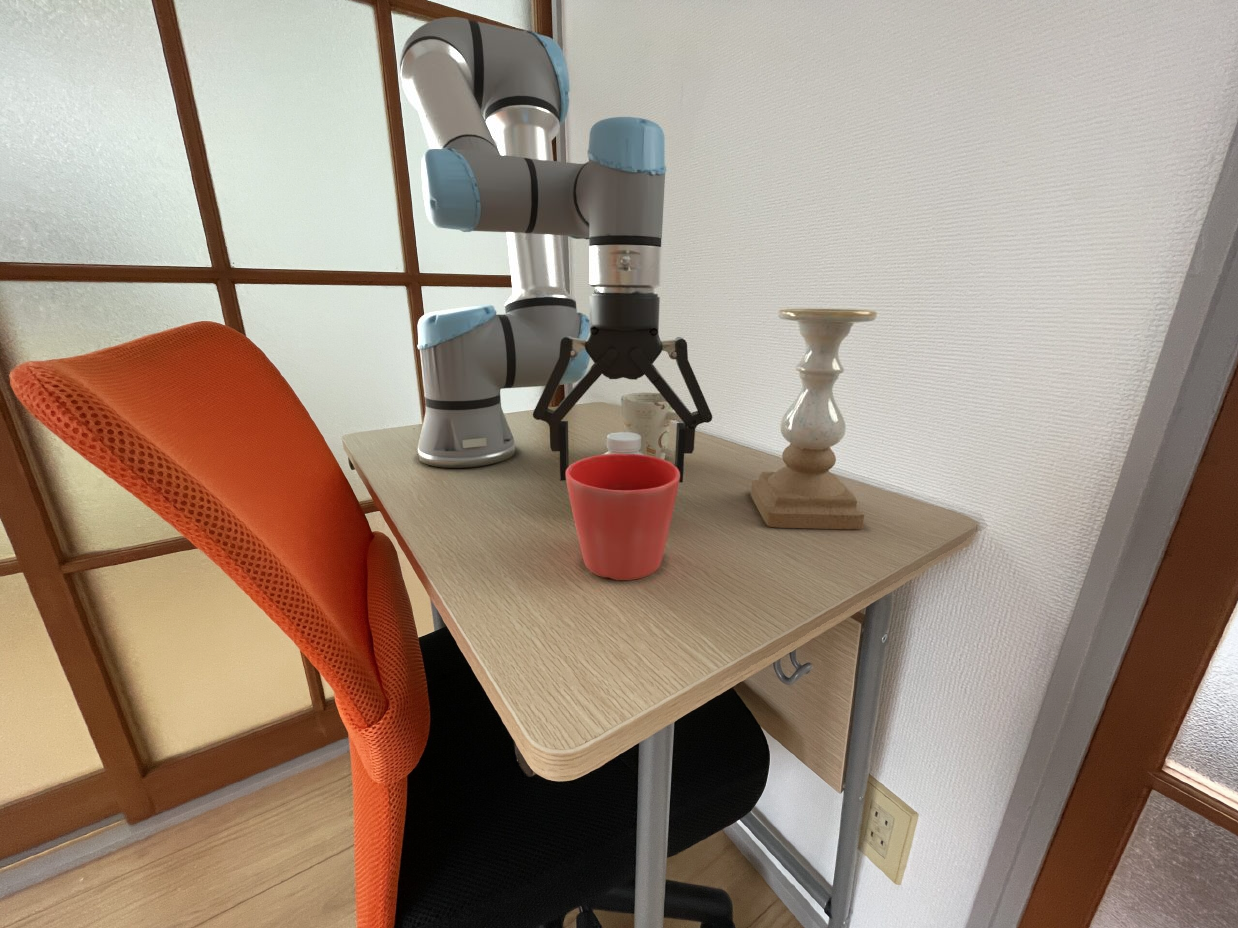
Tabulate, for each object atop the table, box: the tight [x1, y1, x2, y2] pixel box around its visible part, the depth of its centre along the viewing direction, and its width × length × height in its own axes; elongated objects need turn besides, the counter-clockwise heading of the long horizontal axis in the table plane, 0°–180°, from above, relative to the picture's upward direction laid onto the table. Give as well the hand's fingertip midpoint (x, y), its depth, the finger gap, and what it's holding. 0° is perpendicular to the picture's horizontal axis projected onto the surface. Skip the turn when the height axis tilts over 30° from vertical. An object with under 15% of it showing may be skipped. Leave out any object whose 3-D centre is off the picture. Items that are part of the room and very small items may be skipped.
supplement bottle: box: [602, 431, 643, 455], centre depth 62 cm, size 5×5×10 cm
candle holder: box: [750, 308, 878, 530], centre depth 62 cm, size 11×11×24 cm
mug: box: [620, 392, 684, 460], centre depth 83 cm, size 8×13×10 cm, turn 54°
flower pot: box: [566, 454, 680, 581], centre depth 51 cm, size 11×11×10 cm
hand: (621, 477), depth 63 cm, fingers open, 13 cm apart
